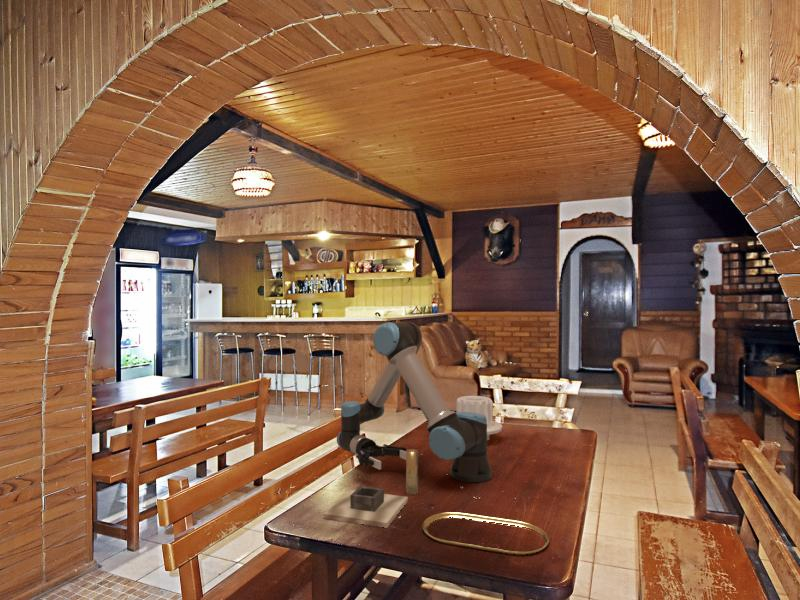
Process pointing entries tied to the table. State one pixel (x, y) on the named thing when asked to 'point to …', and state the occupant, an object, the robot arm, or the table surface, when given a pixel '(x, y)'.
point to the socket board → (367, 507)
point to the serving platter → (487, 519)
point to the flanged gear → (480, 410)
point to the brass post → (412, 471)
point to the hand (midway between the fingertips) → (396, 461)
